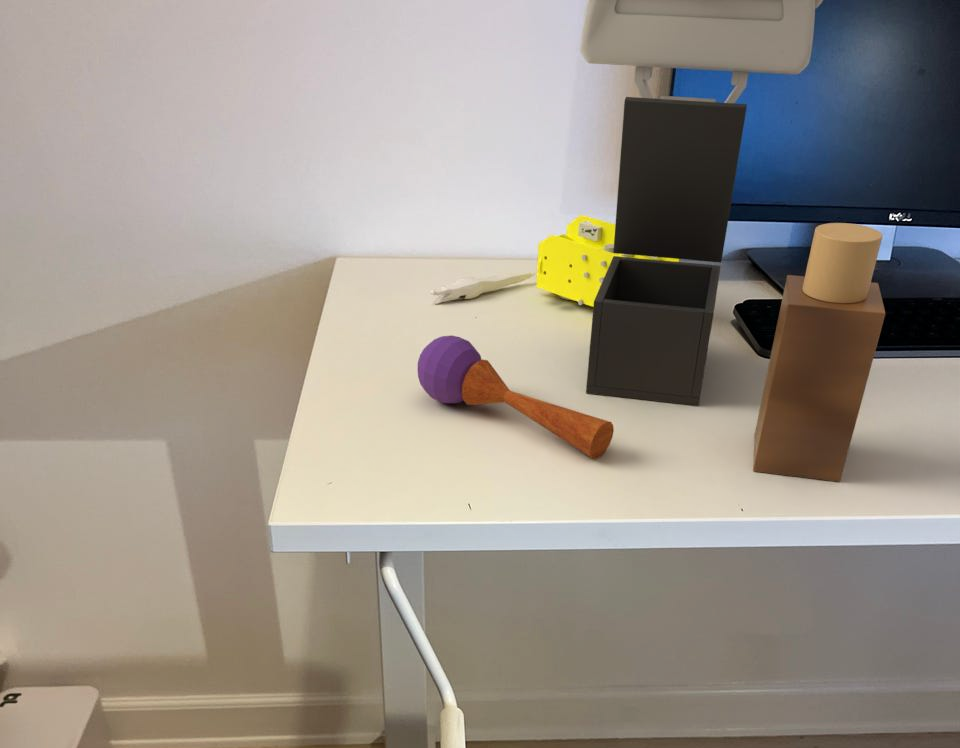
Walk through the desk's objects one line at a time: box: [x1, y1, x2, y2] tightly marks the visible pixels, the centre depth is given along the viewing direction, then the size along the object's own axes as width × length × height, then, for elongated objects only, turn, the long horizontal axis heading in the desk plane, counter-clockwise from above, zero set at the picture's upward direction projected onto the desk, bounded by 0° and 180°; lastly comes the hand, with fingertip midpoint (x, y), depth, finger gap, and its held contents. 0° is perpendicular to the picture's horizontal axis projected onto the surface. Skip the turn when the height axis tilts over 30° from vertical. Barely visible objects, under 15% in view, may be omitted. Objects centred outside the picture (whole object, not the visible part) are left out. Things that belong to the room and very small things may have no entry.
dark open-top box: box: [585, 256, 722, 407], centre depth 96 cm, size 14×11×9 cm
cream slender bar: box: [429, 272, 536, 305], centre depth 115 cm, size 15×3×2 cm, turn 125°
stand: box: [752, 274, 886, 483], centre depth 80 cm, size 7×7×14 cm
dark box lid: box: [613, 95, 748, 263], centre depth 94 cm, size 14×11×5 cm
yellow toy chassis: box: [535, 214, 681, 307], centre depth 110 cm, size 16×6×8 cm, turn 44°
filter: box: [802, 222, 883, 303], centre depth 75 cm, size 5×5×4 cm
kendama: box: [417, 334, 614, 460], centre depth 87 cm, size 6×6×20 cm
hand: (684, 124), depth 92 cm, fingers closed on dark box lid, 5 cm apart
